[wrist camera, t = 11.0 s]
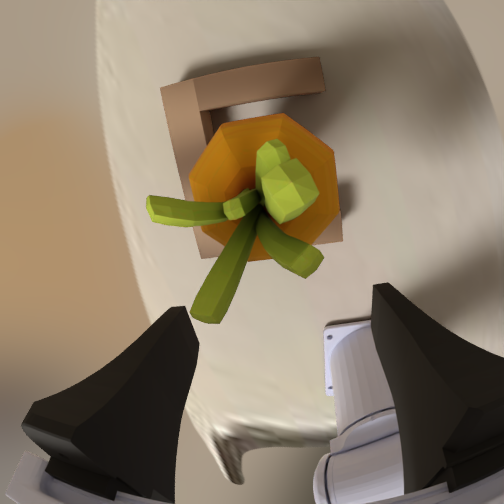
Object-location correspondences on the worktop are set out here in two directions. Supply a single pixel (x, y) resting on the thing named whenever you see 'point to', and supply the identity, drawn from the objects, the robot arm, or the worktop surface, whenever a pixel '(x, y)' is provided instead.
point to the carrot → (256, 203)
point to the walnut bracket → (225, 95)
